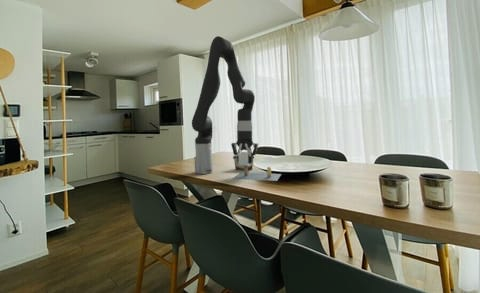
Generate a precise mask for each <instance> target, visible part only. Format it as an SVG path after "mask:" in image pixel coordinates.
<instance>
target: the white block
mask: <svg viewBox="0 0 480 293" xmlns="http://www.w3.org/2000/svg"><path fill="white" fill-rule="evenodd" d="M239 165H243V166H249V165H250V164H249V153H248V152H246V151H242V152H241V153H239Z"/></svg>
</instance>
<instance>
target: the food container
mask: <svg viewBox="0 0 480 293" xmlns="http://www.w3.org/2000/svg"><path fill="white" fill-rule="evenodd" d="M254 159H255V155H253V156H252V163H251V164H250V165H249V166H247V169H248V171H252V170H253V165H254V164H253V163H254ZM232 160H233V161H234V167H235V168H234V170H236V171H239V170H240V171H241V170H242V171H244V166H243V165H239V163H238V162H237V155H234V154H233V156H232Z"/></svg>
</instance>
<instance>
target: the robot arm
mask: <svg viewBox="0 0 480 293" xmlns="http://www.w3.org/2000/svg"><path fill="white" fill-rule="evenodd" d="M220 59H224V61H225V63H226V65H227V77H228V80H229V83H230V86H232V87H231V88H232V89H231V90H232V96H233V99H234V101H235V102H236V103H237V104H242V105H243V106H242V108H239V109H238V110H237V122H236V123H237V124H236V135H237V136H236V142H231V148H232V153H233V156H234V155H237V162H238V163H239V153H241V152H243V151H247V152H248V153H249V164H251V163H252V156H256V155H257V153H258V152H257V151H258V147H259V143H255V142H253V141H254V140H253V123H252V117H253V116H252V113H253V108H254V104H255V101H256V100H255V97H256V96H255V93H254V91H253V90H251V89H244V87H245V86H246V80H245V78H244V76H243V74H242V71H241V70H240V66H239V64H238V61H237V57H236V53H235V49H234V45H233V43H232V42H230V41H229V40H227V39H226V38H224V37H221V36H215V37H214V38H213V39H212V41H211V43H210V46H209V54H208V59H207V60H208V62H207V66H206V70H205V75H204V78H203V82H202V86H201V90H200V94H199V98H198V101H197V106H196V109H195V111H194V114H193V117H192V120H191V127H192V129H193V130H194V131H195V132H197V135H196V136H197V137H196V138H195V139H194V145H195V146H194V148H195V150H194V151H195V156H194V173H195V174H199V175H207V174H212V173H213V157H212V156H213V155H212V154H213V153H212V152H213V151H212V140H213V121H212V119H211V117H210V116H208V114H209V110H210V108H211V106H212V104H213V103H214V102H215V100H216V99H217V96H218V94H219V92H220V87H221V77H220V72H219V71H220V70H219V62H220ZM237 147H238V150H237ZM251 147H253V149H252V148H251ZM252 150H253V152H252Z"/></svg>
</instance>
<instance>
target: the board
mask: <svg viewBox="0 0 480 293" xmlns="http://www.w3.org/2000/svg"><path fill="white" fill-rule="evenodd" d="M248 171H249V170H248V169H247V166H244V170H243V172H239V173H238V174H236V175H235V176H234V177H232V179H234V180H235V179H236V180H252V181H253V180H255V181H270V182H271V181H272V182H273V181H274V182H277V181H278V180H279V179H280V177H281V176H282V173H272V168H271V166H268V167H267V170H266V171H267V172H266V173H265V172H263V173H262V172H248Z"/></svg>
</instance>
